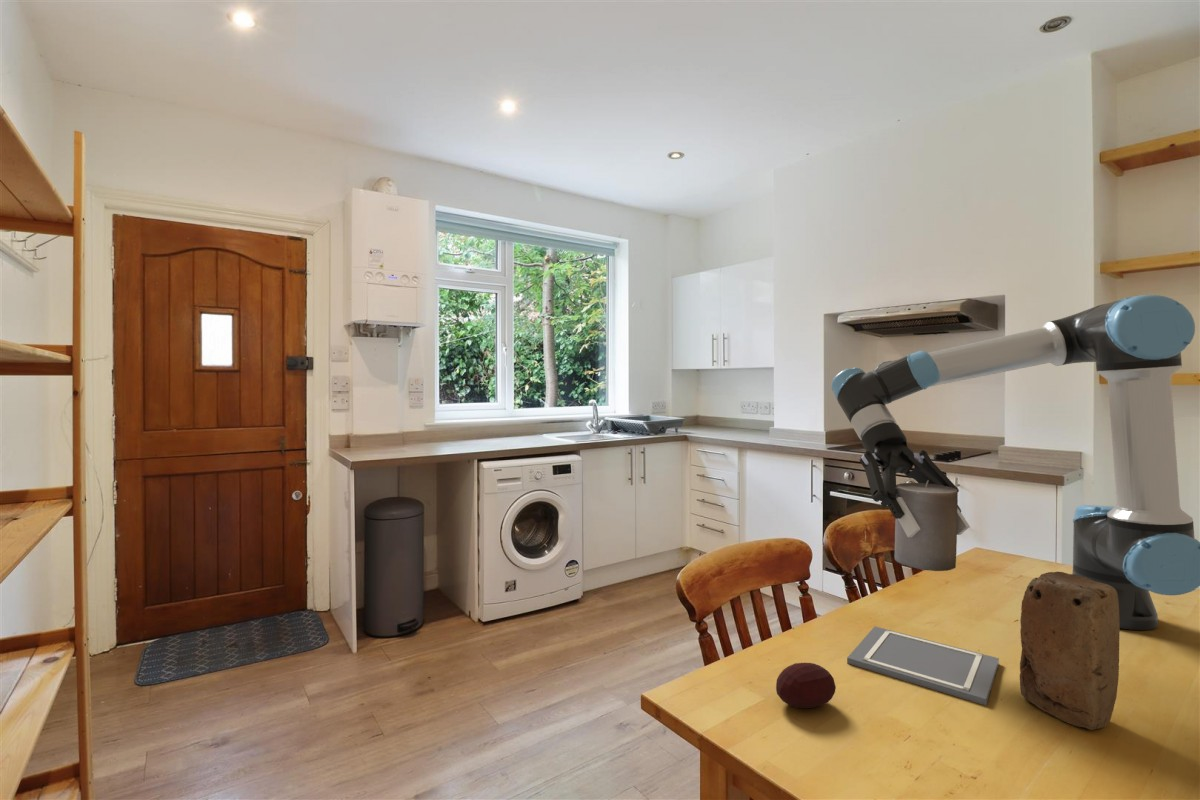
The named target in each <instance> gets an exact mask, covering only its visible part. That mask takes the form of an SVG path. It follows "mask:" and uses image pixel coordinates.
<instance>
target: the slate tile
mask: <svg viewBox="0 0 1200 800" xmlns="http://www.w3.org/2000/svg"><path fill="white" fill-rule="evenodd" d="M846 658H847V660H846V663H847V664H849V665H852V666H855V667H858V668H861V669H865V670H869V671H872V672H874V673H878V674H880V675H881V674H882V675H885V676H887V677H891V678H894V679H896V680H897V679H898V680H901V681H905V682H906V683H910V684H914V685H917V686H919V687H920V686H921V687H924V688H925V689H929V690H933V691H937V692H941V693H943V694H947V695H948V696H949V695H950V696H953V697H956V698H959V699H963V700H966V701H969V702H973V703H976V704H980V705H982V706H987V703H988V700H989V697H990V694H991V690H992V687H993V684H994V680H995V677H996V674H997V671H998V667H999V664H1000V658H999V657H995V656H992V655H987V654H984V653H980V652H977V651H972V650H968V649H965V648H960V647H956V646H953V645H949V644H946V643H941V642H937V641H935V640H929V639H927V638H926V639H925V638H922V637H918V636H913V635H911V634H906V633H902V632H898V631H894V630H891V629H886V628H883V627H879V626H876V625H875V626H873V628H871V629H870V631H869V632H868V633H867V634H866V635H865V637H864V638H863V639H862V640H861V641H860V642H859V644H858V645H856V647H855V648H854V649H853V650H852V651H851V652H850V654H849V655H848V656H847V657H846Z"/></svg>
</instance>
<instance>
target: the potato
mask: <svg viewBox="0 0 1200 800" xmlns="http://www.w3.org/2000/svg"><path fill="white" fill-rule="evenodd" d="M775 684H776V685H775V691H776V694H777V695H778V697H779V698H780V699H781V701H782V702H783V703H785V704H787V705H789V706H791V707H794V708H801V709H810V708H811V709H812V708H817V707H820V706H823V705H826V704H827V703H829V702H830V701H831V700H832V698H833V697H834V695H835V693H836V687H837V686H836V683H835V679H834V677H833V676H832V674H831V673H830V672H829V671H828V670H827V669H826V668H824V667H823V666H821V665H819V664H816V663H813V662H797V663H795V662H794V663H793V664H791V665H788V666H787V667H786V668H785V667H784V669H782V671H781V672H780V673H779V675H778V676H777V679H776V683H775Z"/></svg>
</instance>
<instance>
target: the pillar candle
mask: <svg viewBox="0 0 1200 800" xmlns="http://www.w3.org/2000/svg"><path fill="white" fill-rule="evenodd" d="M928 482H929V480H927V483H918V482H902V483H898V484H896V497H895V498H896V499H897V498H898V497H902V498H903V500H904V502H905V503H906V505H907V507H908V509H909V510H910V512H911V514H912V515H913V517H914V519H915V521H916V522H917V524H918V526H919V527H920V530H919V531H918V532H917V533H916V534H915V535H914V536H913V537H907V535H906V533H905V531H904V529H903V528H902V526H901V524H900V522H899V521H898V519H896V518H894V519H895V521H894V523H895V525H894V526H895V527H894V561H896V562H897V563H899V564H901V565H906V566H908V567H911V568H914V569H917V570H923V571H931V572H932V571H933V572H947V571H952V570H954V569H956V567H957V565H956V564H957V543H958V541H957V540H958V537H957V507H958V506H959V505H958V500H959V499H958V493H957V489H955V488H952V487H948V486H943V485H936V484H928Z"/></svg>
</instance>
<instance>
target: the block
mask: <svg viewBox="0 0 1200 800" xmlns="http://www.w3.org/2000/svg"><path fill="white" fill-rule="evenodd" d="M1020 610H1021V611H1020V632H1019V633H1020V645H1021V653H1020V655H1021V656H1020V660H1019V689H1020V690H1019V691H1020V694H1021V696H1022V697H1023V698H1024V699H1025V700H1027V702H1030V703H1032V704H1034V706H1036V707H1037V708H1038V709H1040V710H1042V711H1043V712H1046V713H1048V714H1050V715H1051V716H1053V717H1055V718H1057V719H1059V720H1061V721H1063V722H1065V723H1067V724H1070V725H1073V726H1075V727H1078V728H1085V729H1088V730H1093V731H1094V730H1099V729H1102V728H1105V727H1106V726H1108V724H1109V722H1110V721H1111V719H1112V715H1113V713H1114V708H1115V705H1116V700H1117V694H1118V686H1119V676H1120V673H1119V672H1120V671H1119V670H1120V629H1121V628H1120V623H1119V602H1118V595H1117V591H1116V590H1115V589H1114V587H1112V586H1110V585H1108V584H1104V583H1100V582H1095V581H1093V580H1090V579H1088V578H1086V577H1082V576H1080V575H1075V574H1072V573H1071V574H1070V573H1066V572H1064V571H1049V572H1048V571H1047V572H1046V573H1045V572H1044V573H1041V574H1040V575H1039V576H1038V577H1034V578H1033V579H1031V581H1030V582H1029V583H1028V585H1027V586H1026V589H1025V591H1024V596H1023V598H1022V599H1021V609H1020Z"/></svg>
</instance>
